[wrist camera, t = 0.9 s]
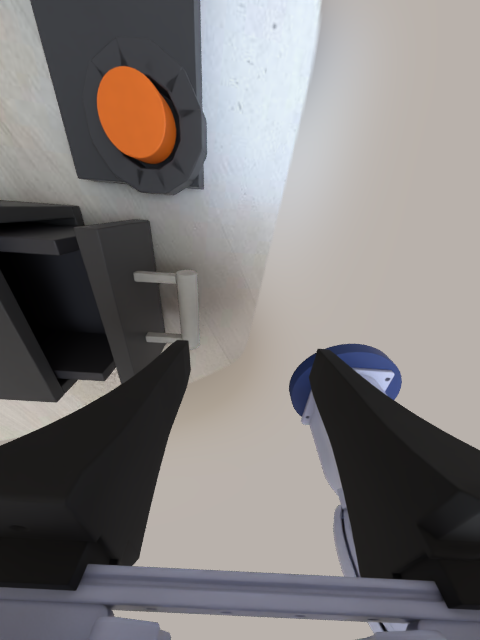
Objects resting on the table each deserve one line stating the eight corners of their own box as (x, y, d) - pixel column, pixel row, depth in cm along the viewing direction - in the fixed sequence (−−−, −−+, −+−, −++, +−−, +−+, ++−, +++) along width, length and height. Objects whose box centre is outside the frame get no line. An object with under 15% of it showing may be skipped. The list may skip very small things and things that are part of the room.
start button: (178, 166, 12) (169, 160, 10) (123, 162, 12) (106, 155, 10) (173, 88, 10) (161, 68, 9) (110, 83, 10) (87, 62, 9)
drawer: (205, 224, 15) (183, 235, 10) (207, 345, 21) (194, 395, 16) (-32, 207, 15) (-188, 208, 10) (34, 334, 21) (-42, 381, 15)
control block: (211, 198, 15) (203, 196, 12) (97, 190, 15) (60, 186, 12) (210, -46, 10) (195, -152, 7) (37, -62, 10) (-52, -177, 7)
